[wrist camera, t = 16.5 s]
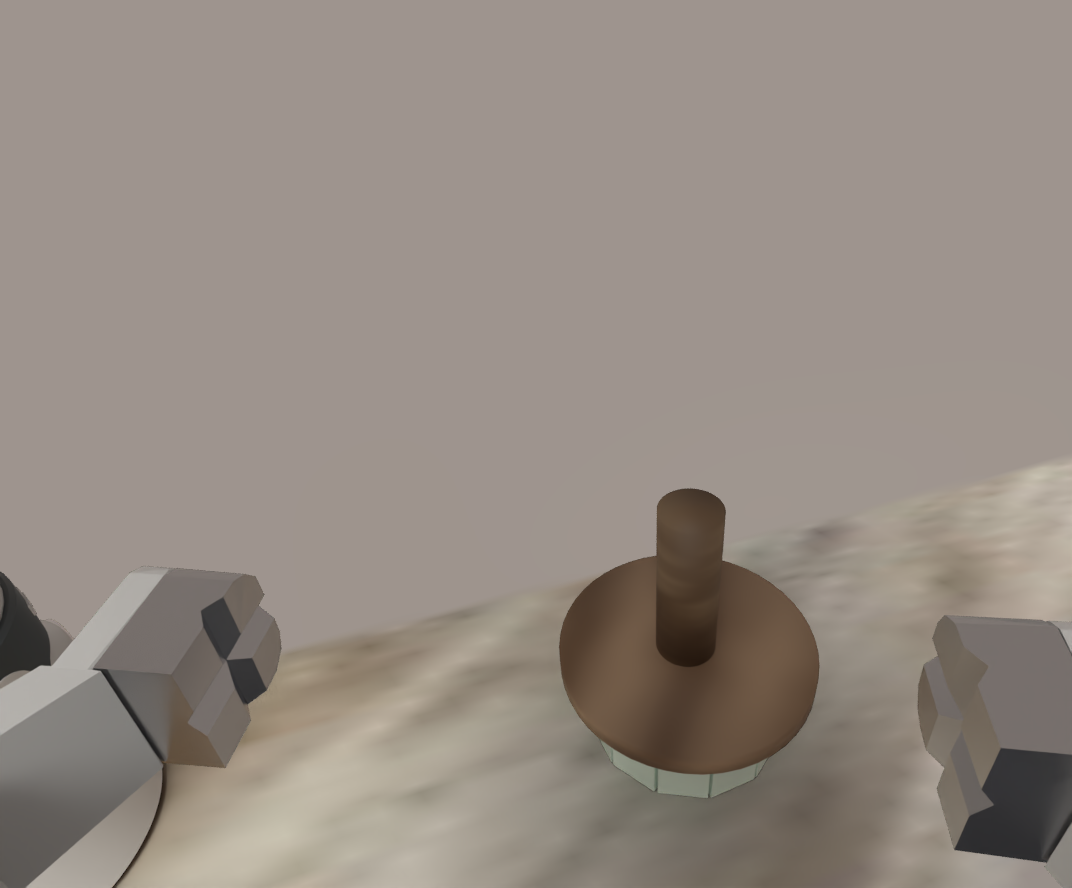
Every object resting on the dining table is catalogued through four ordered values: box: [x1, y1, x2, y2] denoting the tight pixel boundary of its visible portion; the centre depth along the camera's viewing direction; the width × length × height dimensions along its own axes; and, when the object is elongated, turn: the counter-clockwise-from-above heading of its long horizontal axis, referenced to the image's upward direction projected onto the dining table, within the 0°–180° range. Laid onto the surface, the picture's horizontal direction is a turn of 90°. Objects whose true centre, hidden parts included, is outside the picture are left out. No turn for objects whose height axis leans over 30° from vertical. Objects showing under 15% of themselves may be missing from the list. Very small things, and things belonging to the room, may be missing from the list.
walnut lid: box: [559, 489, 819, 775], centre depth 37 cm, size 13×13×10 cm
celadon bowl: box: [600, 739, 768, 798], centre depth 41 cm, size 10×10×4 cm
